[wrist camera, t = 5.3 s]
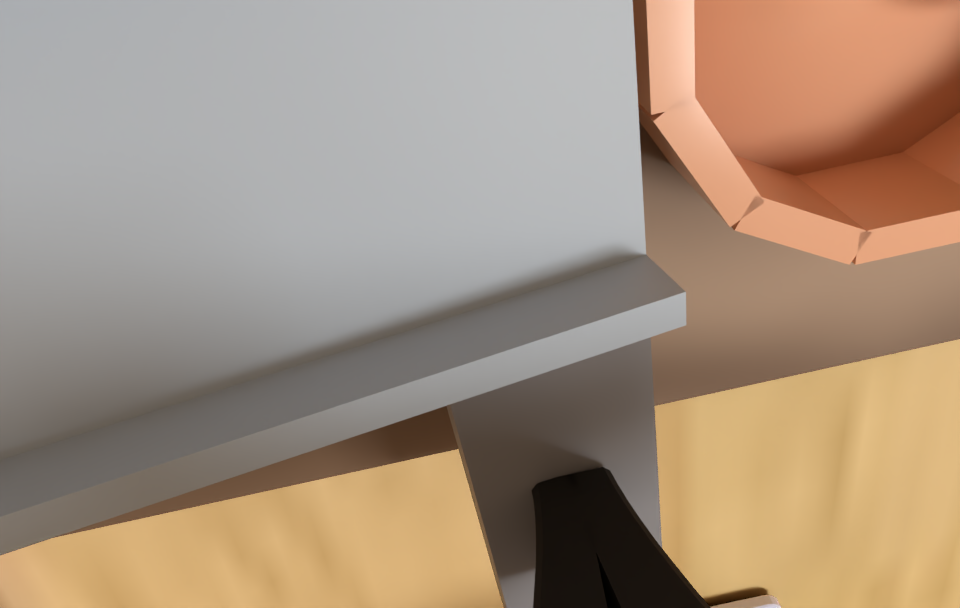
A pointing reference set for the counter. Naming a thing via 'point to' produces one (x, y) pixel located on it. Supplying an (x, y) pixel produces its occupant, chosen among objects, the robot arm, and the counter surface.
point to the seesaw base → (695, 327)
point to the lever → (321, 249)
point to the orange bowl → (810, 117)
